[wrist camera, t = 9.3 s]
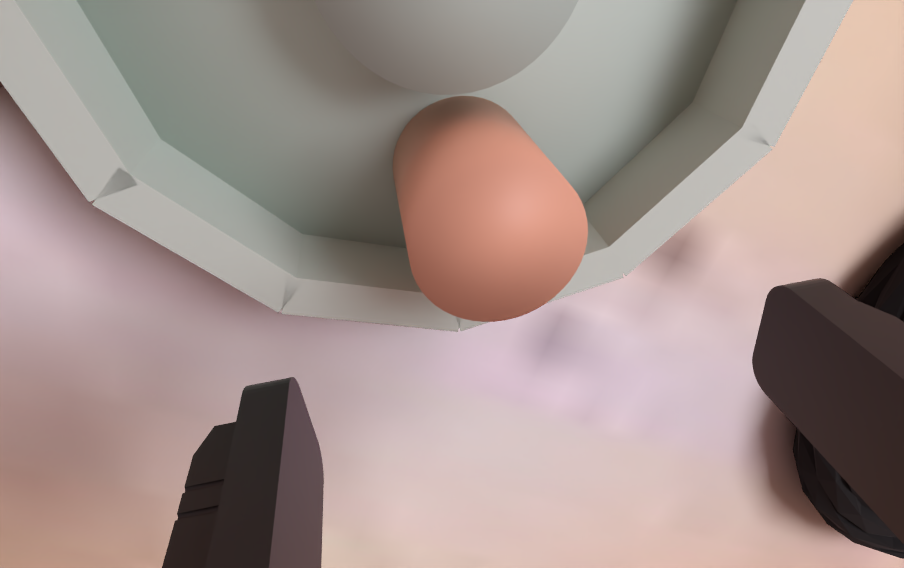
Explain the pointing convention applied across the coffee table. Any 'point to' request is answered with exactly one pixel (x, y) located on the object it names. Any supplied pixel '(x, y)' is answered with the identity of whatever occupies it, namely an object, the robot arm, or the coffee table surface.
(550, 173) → the terracotta bead
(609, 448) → the coffee table surface
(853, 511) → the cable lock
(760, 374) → the robot arm
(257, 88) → the groove tray
